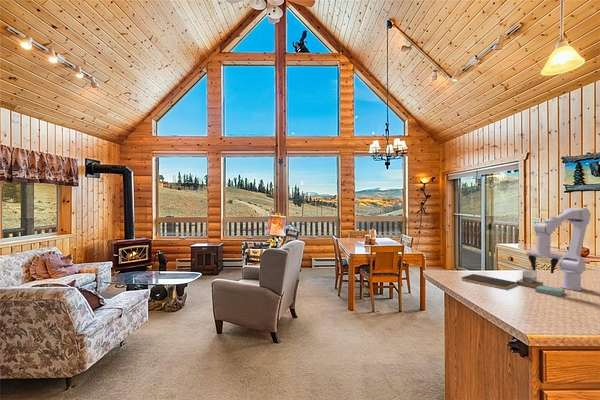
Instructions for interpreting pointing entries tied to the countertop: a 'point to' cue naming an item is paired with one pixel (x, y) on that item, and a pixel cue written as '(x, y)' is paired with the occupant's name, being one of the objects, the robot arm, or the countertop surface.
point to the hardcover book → (489, 281)
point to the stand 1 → (528, 284)
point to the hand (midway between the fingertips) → (543, 271)
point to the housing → (530, 276)
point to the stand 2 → (550, 290)
